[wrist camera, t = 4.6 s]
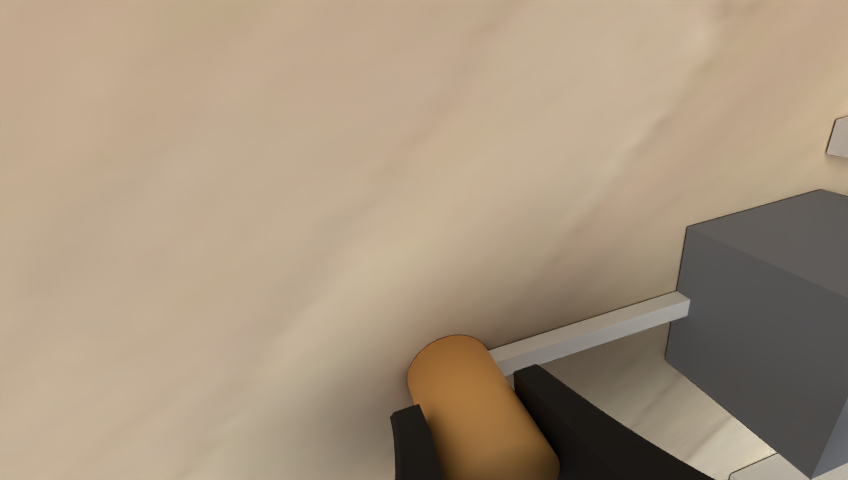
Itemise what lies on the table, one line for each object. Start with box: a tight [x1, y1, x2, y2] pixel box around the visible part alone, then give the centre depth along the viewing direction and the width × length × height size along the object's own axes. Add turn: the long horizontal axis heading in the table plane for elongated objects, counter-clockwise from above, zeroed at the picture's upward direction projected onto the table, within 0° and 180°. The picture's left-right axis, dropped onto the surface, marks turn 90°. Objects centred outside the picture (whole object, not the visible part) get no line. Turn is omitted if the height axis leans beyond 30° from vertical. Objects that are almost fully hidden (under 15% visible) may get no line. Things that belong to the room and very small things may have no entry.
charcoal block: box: [407, 189, 848, 480], centre depth 11 cm, size 5×14×4 cm, turn 97°
